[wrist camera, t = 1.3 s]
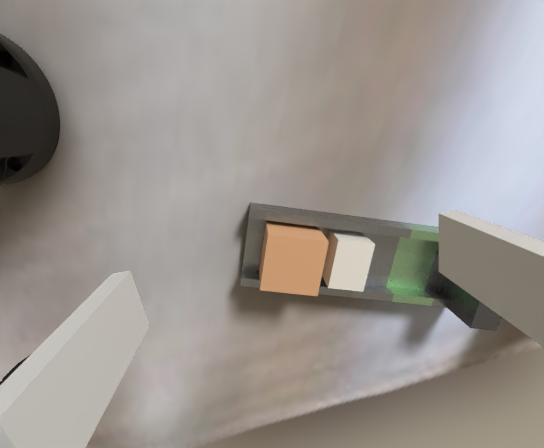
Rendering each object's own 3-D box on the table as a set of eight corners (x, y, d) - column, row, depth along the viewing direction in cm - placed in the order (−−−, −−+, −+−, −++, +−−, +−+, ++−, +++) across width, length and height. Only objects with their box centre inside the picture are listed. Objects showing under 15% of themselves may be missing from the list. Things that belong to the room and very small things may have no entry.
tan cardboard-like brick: (259, 269, 34) (259, 290, 30) (266, 220, 33) (268, 234, 28) (309, 274, 35) (317, 296, 30) (318, 227, 33) (328, 241, 29)
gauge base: (241, 273, 36) (238, 305, 29) (250, 202, 34) (249, 218, 27) (452, 296, 39) (495, 330, 32) (475, 231, 36) (527, 253, 29)
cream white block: (320, 273, 35) (328, 288, 32) (330, 229, 34) (338, 239, 30) (352, 277, 36) (363, 291, 32) (363, 233, 34) (375, 244, 31)
